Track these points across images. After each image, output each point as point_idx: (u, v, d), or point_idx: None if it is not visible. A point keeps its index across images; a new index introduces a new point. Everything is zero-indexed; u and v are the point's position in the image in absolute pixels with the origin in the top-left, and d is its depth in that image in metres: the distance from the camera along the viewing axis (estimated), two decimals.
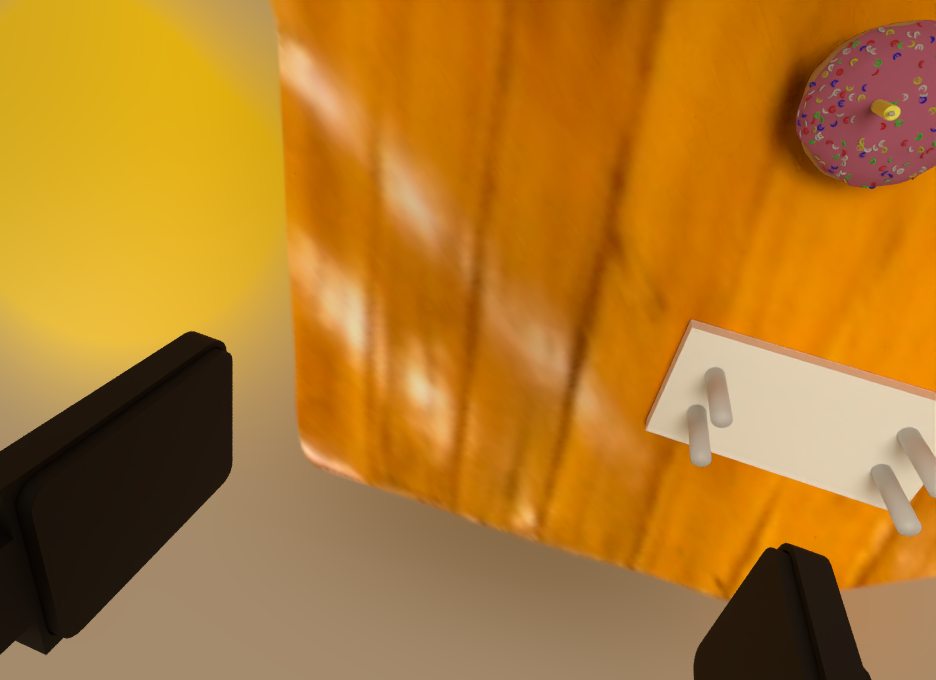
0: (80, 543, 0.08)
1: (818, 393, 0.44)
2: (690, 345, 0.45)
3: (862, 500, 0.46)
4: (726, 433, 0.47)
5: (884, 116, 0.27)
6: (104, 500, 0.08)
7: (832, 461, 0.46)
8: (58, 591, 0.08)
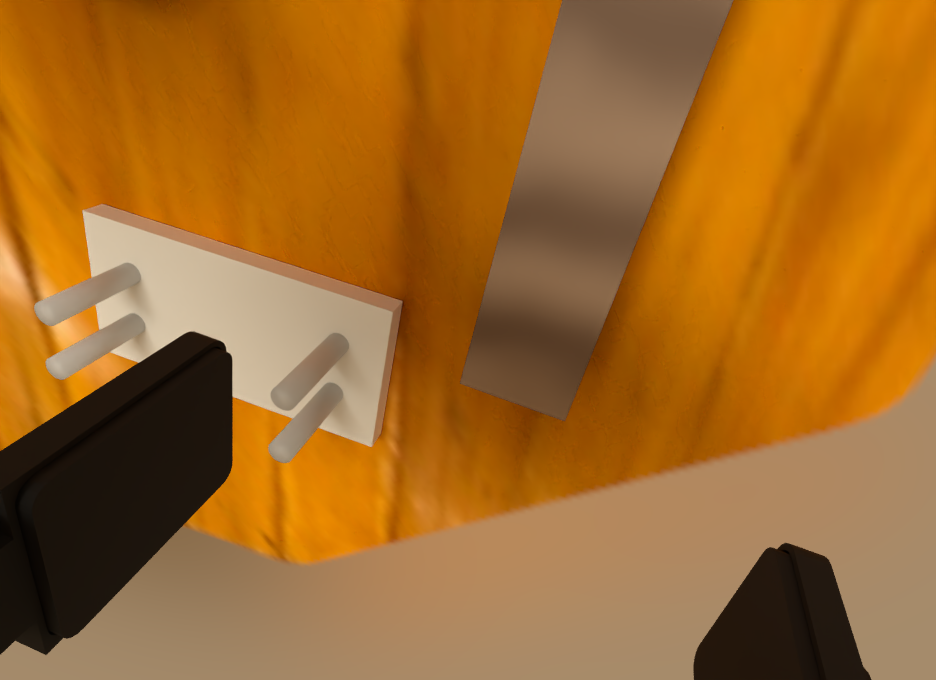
0: (80, 543, 0.08)
1: (233, 292, 0.35)
2: (91, 234, 0.36)
3: (331, 430, 0.38)
4: None
5: None
6: (104, 500, 0.08)
7: None
8: (58, 591, 0.08)
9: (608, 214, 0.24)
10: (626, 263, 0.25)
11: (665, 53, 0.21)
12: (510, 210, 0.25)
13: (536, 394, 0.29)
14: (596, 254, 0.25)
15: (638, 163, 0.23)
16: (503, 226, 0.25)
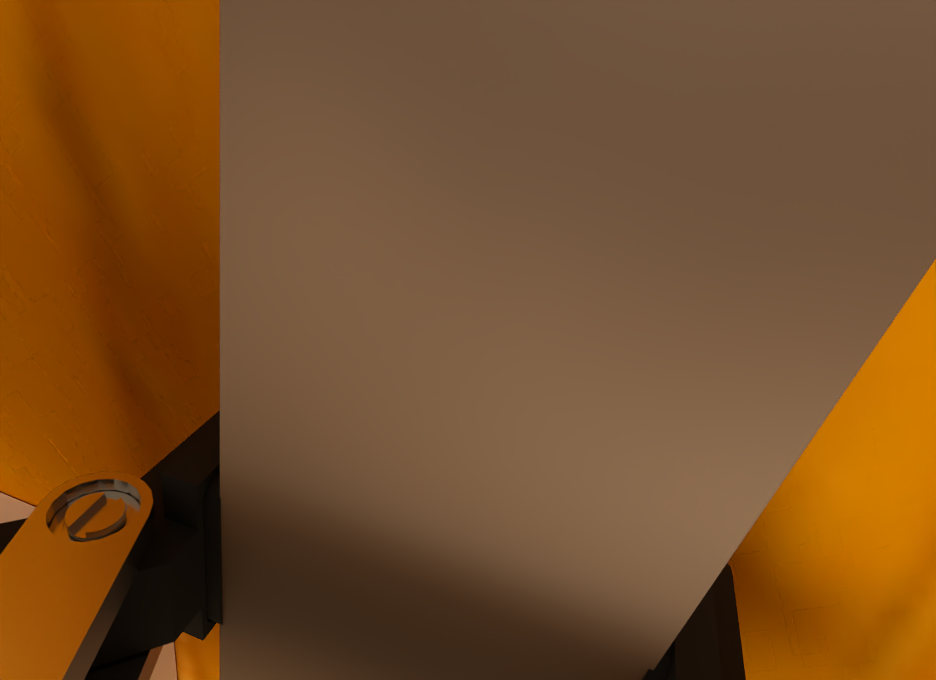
0: None
1: None
2: None
3: None
4: None
5: None
6: None
7: None
8: None
9: (512, 662, 0.07)
10: None
11: (719, 186, 0.04)
12: (230, 593, 0.08)
13: None
14: None
15: (604, 558, 0.06)
16: (223, 622, 0.09)
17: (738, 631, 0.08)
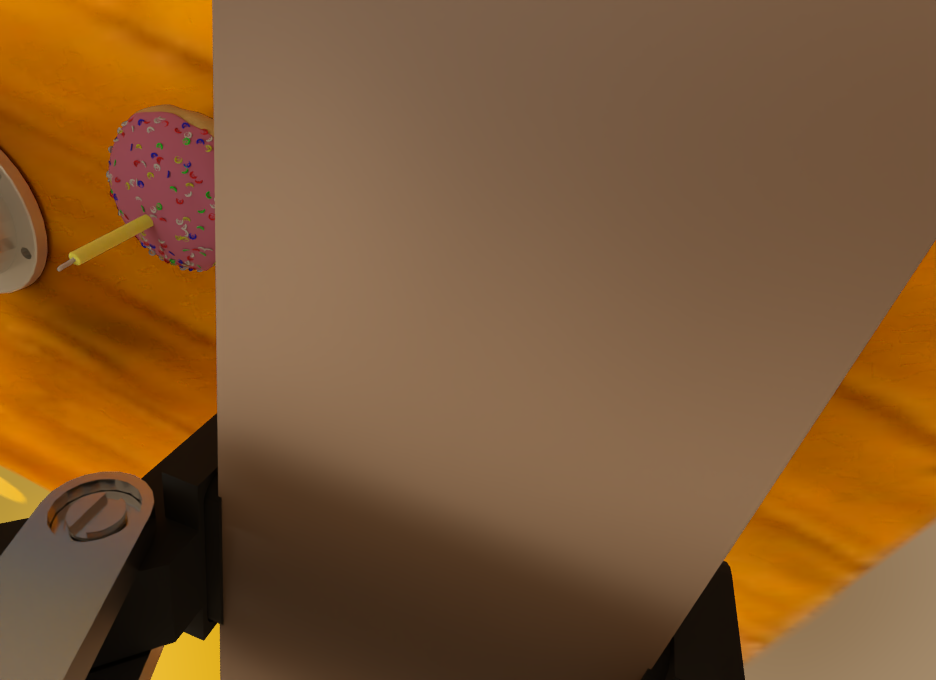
0: None
1: None
2: None
3: None
4: None
5: (78, 264, 0.27)
6: None
7: None
8: None
9: (511, 660, 0.07)
10: None
11: (710, 181, 0.04)
12: (230, 593, 0.08)
13: None
14: None
15: (602, 556, 0.06)
16: None
17: (738, 631, 0.08)
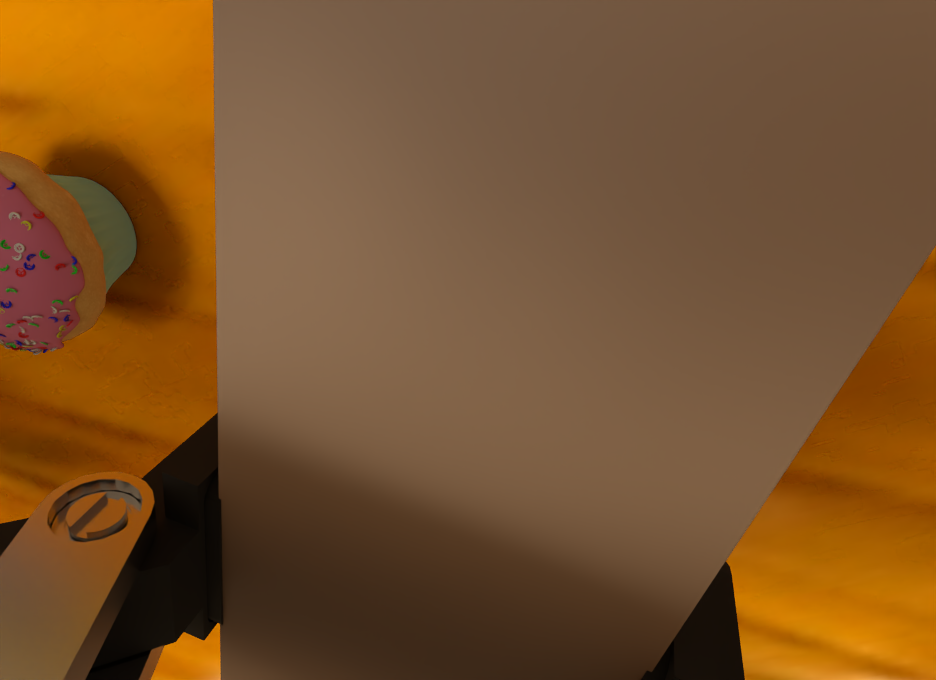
0: None
1: None
2: None
3: None
4: None
5: None
6: None
7: None
8: None
9: (511, 663, 0.07)
10: None
11: (710, 187, 0.04)
12: (230, 595, 0.08)
13: None
14: None
15: (603, 559, 0.06)
16: (223, 625, 0.09)
17: (738, 630, 0.08)
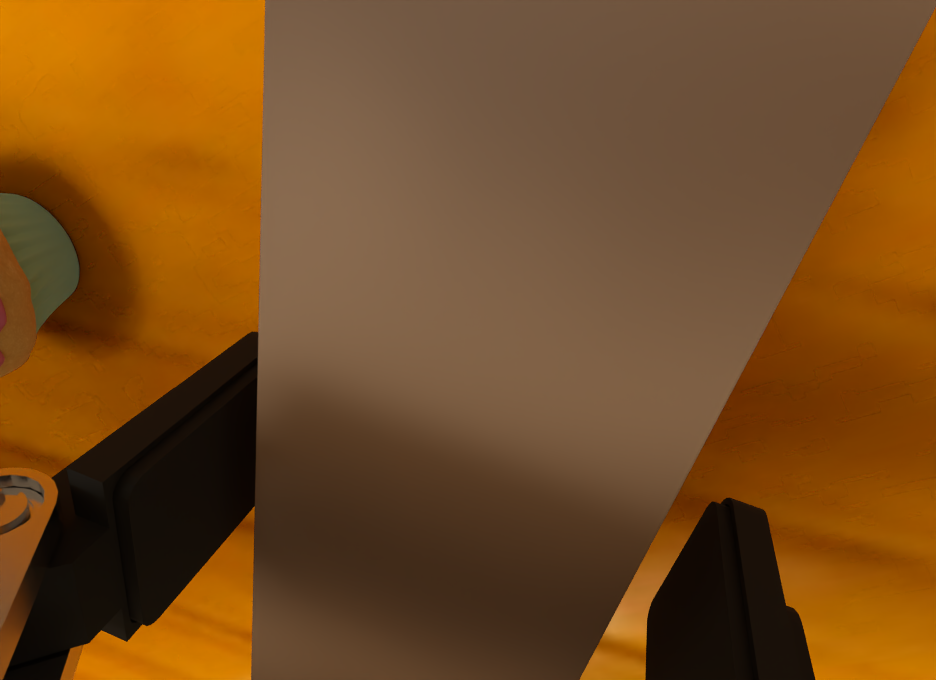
0: (163, 534, 0.08)
1: None
2: None
3: None
4: None
5: None
6: (184, 493, 0.08)
7: None
8: (143, 580, 0.08)
9: (512, 579, 0.08)
10: None
11: (662, 149, 0.05)
12: (264, 532, 0.09)
13: None
14: (492, 653, 0.09)
15: (587, 476, 0.07)
16: (256, 560, 0.10)
17: None
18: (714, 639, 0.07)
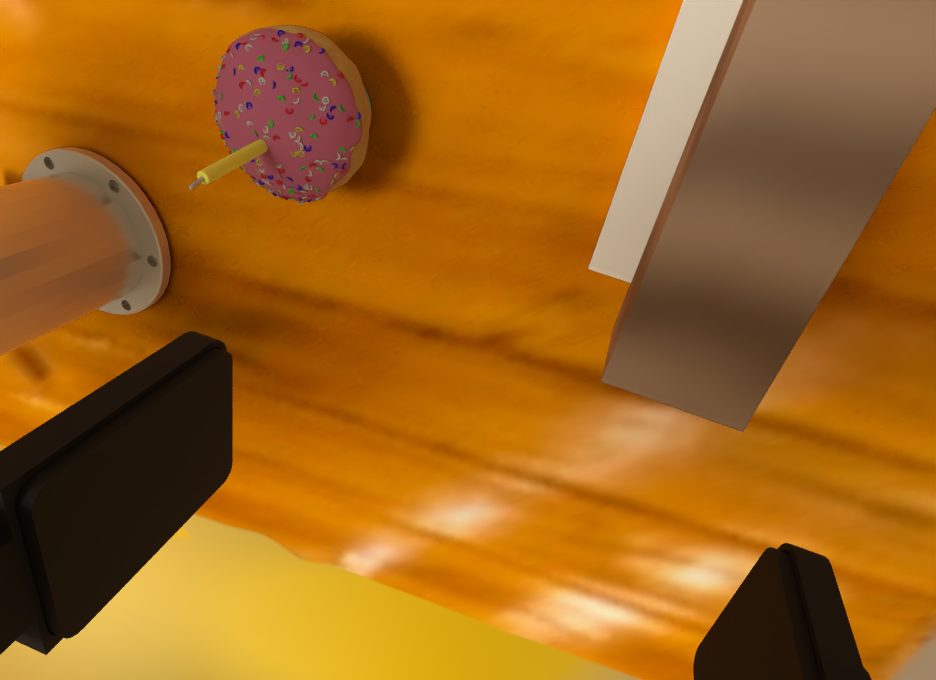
0: (80, 543, 0.08)
1: (702, 86, 0.27)
2: (615, 270, 0.32)
3: None
4: None
5: (207, 183, 0.26)
6: (104, 500, 0.08)
7: None
8: (58, 591, 0.08)
9: (852, 145, 0.17)
10: (868, 215, 0.18)
11: None
12: (703, 144, 0.18)
13: (707, 396, 0.22)
14: (825, 204, 0.18)
15: (913, 67, 0.16)
16: (690, 167, 0.19)
17: None
18: None
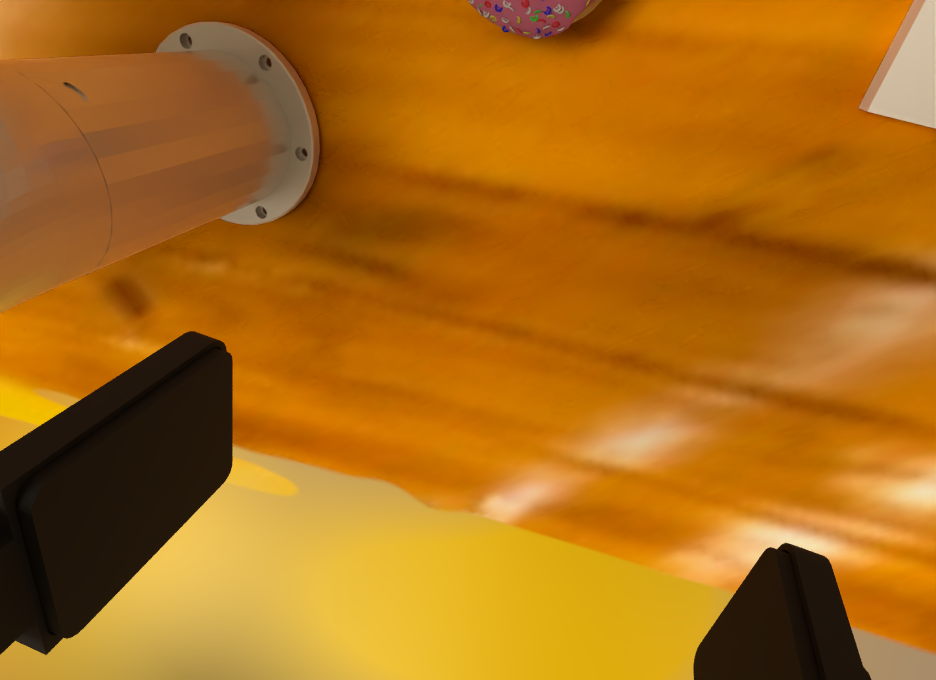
0: (80, 543, 0.08)
1: None
2: (903, 109, 0.28)
3: None
4: None
5: None
6: (104, 500, 0.08)
7: None
8: (58, 591, 0.08)
9: None
10: None
11: None
12: None
13: None
14: None
15: None
16: None
17: None
18: None
